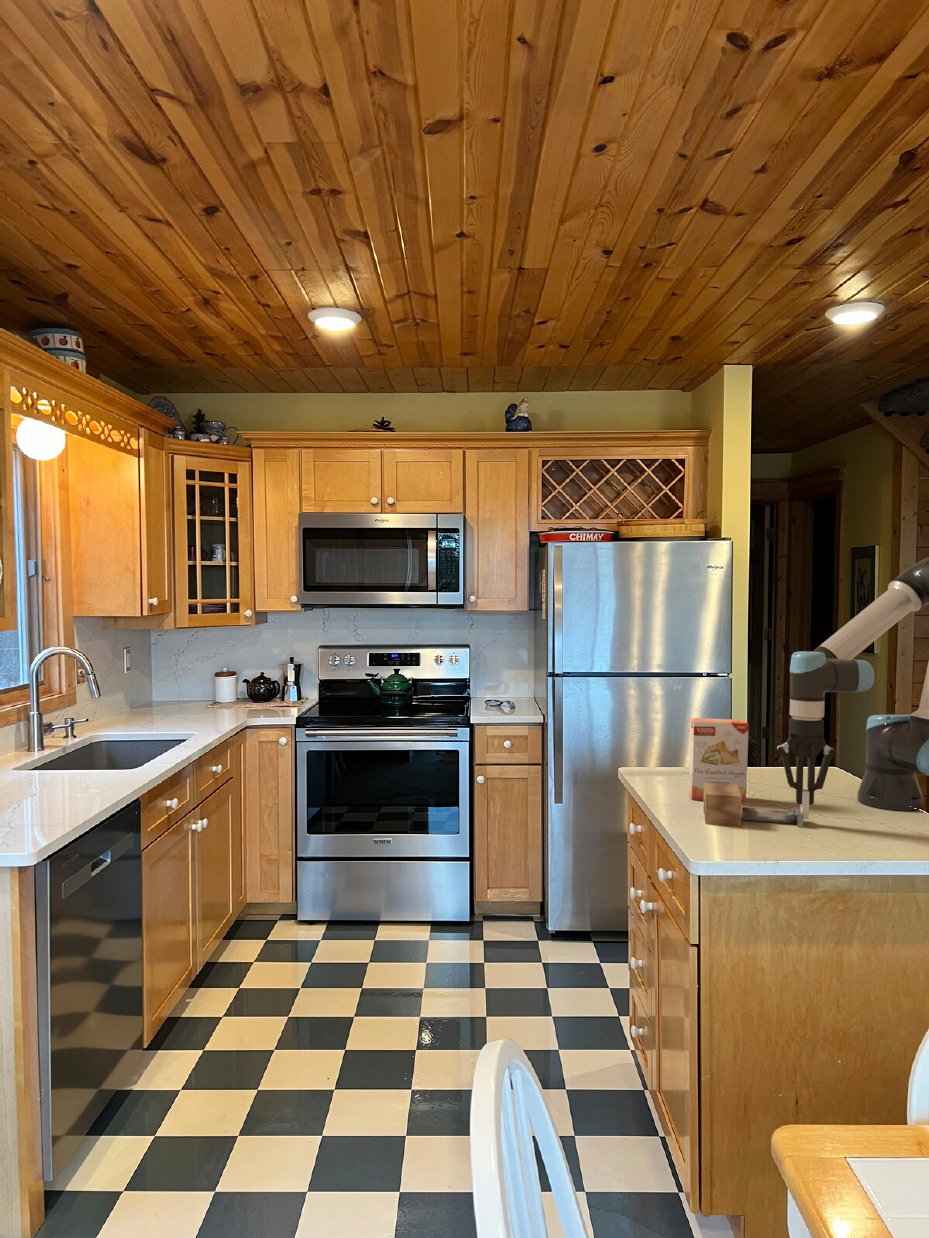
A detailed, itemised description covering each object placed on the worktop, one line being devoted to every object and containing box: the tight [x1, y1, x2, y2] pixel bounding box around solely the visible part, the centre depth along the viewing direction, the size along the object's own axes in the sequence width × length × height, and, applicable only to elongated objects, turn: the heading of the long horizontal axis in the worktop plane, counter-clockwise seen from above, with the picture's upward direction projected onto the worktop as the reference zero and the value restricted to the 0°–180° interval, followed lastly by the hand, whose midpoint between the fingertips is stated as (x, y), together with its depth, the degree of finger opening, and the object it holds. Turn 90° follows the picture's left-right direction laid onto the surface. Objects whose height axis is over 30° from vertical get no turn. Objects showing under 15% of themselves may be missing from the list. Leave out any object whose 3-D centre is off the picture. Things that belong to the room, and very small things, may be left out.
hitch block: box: [702, 783, 743, 827], centre depth 201 cm, size 8×12×7 cm, turn 166°
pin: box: [741, 806, 804, 828], centre depth 199 cm, size 13×6×3 cm, turn 76°
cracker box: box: [688, 717, 750, 803], centre depth 219 cm, size 14×6×21 cm, turn 83°
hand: (804, 817), depth 197 cm, fingers closed
